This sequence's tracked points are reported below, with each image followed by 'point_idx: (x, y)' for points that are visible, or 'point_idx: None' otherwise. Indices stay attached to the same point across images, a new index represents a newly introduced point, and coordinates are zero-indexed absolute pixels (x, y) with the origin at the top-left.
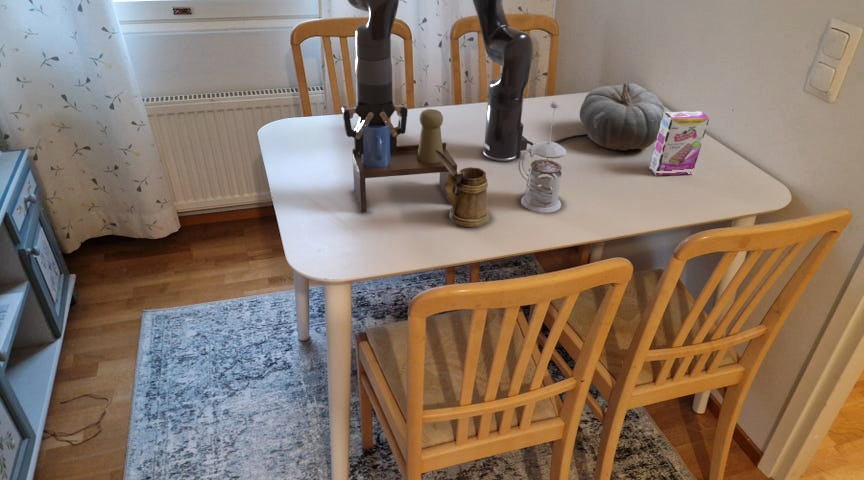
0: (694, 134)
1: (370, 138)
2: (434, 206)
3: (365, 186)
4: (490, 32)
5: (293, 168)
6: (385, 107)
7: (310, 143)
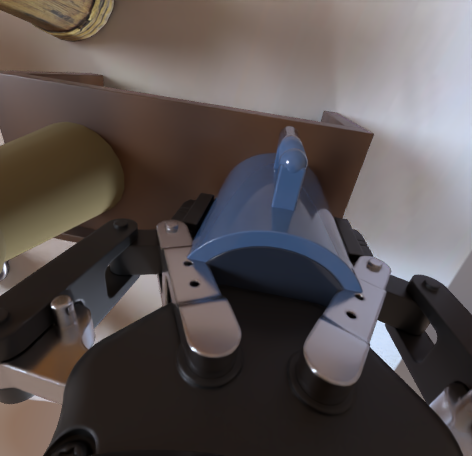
0: None
1: (324, 219)
2: (144, 80)
3: (339, 121)
4: None
5: (373, 338)
6: (157, 400)
7: None
